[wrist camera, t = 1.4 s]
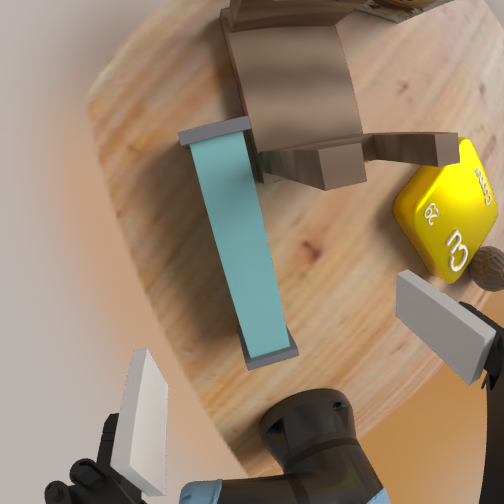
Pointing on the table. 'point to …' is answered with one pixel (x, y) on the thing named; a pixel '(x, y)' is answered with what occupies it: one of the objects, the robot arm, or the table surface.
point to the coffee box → (399, 8)
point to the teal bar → (241, 238)
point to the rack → (311, 97)
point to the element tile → (448, 212)
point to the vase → (488, 268)
